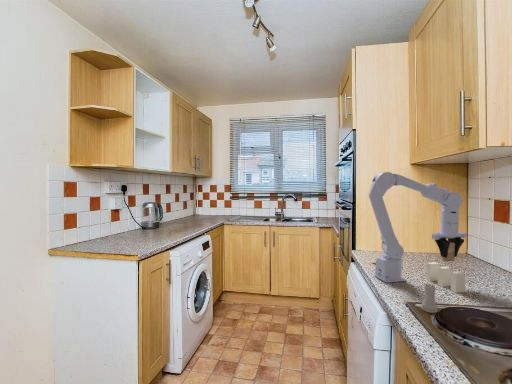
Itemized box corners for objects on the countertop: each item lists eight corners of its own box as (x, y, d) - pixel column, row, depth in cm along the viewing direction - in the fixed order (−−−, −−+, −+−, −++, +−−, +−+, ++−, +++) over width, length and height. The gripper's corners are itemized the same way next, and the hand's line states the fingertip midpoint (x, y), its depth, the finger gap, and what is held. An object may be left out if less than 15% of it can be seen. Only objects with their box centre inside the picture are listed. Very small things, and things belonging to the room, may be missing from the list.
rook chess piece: (441, 312, 83) (442, 287, 83) (429, 314, 82) (430, 288, 82) (429, 306, 87) (430, 281, 87) (417, 307, 86) (418, 283, 86)
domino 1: (438, 280, 109) (439, 263, 109) (430, 281, 108) (430, 264, 108) (434, 278, 111) (434, 262, 111) (426, 279, 110) (426, 262, 110)
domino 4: (464, 291, 98) (465, 272, 98) (455, 292, 98) (456, 273, 97) (459, 289, 100) (460, 271, 100) (450, 290, 99) (451, 271, 99)
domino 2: (454, 261, 106) (454, 243, 106) (446, 261, 105) (446, 244, 105) (449, 259, 108) (450, 242, 108) (441, 260, 107) (441, 242, 107)
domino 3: (450, 285, 104) (451, 268, 103) (442, 286, 103) (442, 268, 103) (446, 283, 106) (446, 266, 105) (437, 284, 105) (438, 267, 105)
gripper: (455, 220, 111) (454, 252, 112) (425, 221, 108) (424, 254, 109) (472, 222, 104) (471, 257, 105) (441, 224, 101) (440, 260, 102)
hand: (448, 256), depth 106 cm, fingers closed on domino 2, 4 cm apart
